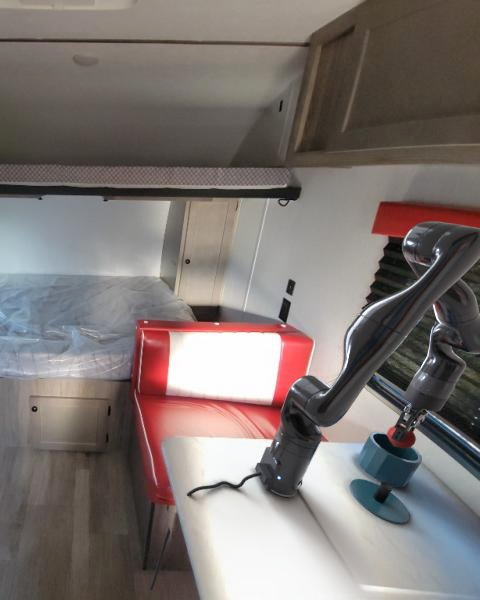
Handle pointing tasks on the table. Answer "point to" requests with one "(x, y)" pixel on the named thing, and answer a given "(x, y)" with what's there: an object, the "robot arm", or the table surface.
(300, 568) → the table surface
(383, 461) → the pot
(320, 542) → the table surface
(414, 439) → the onion
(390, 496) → the lid
